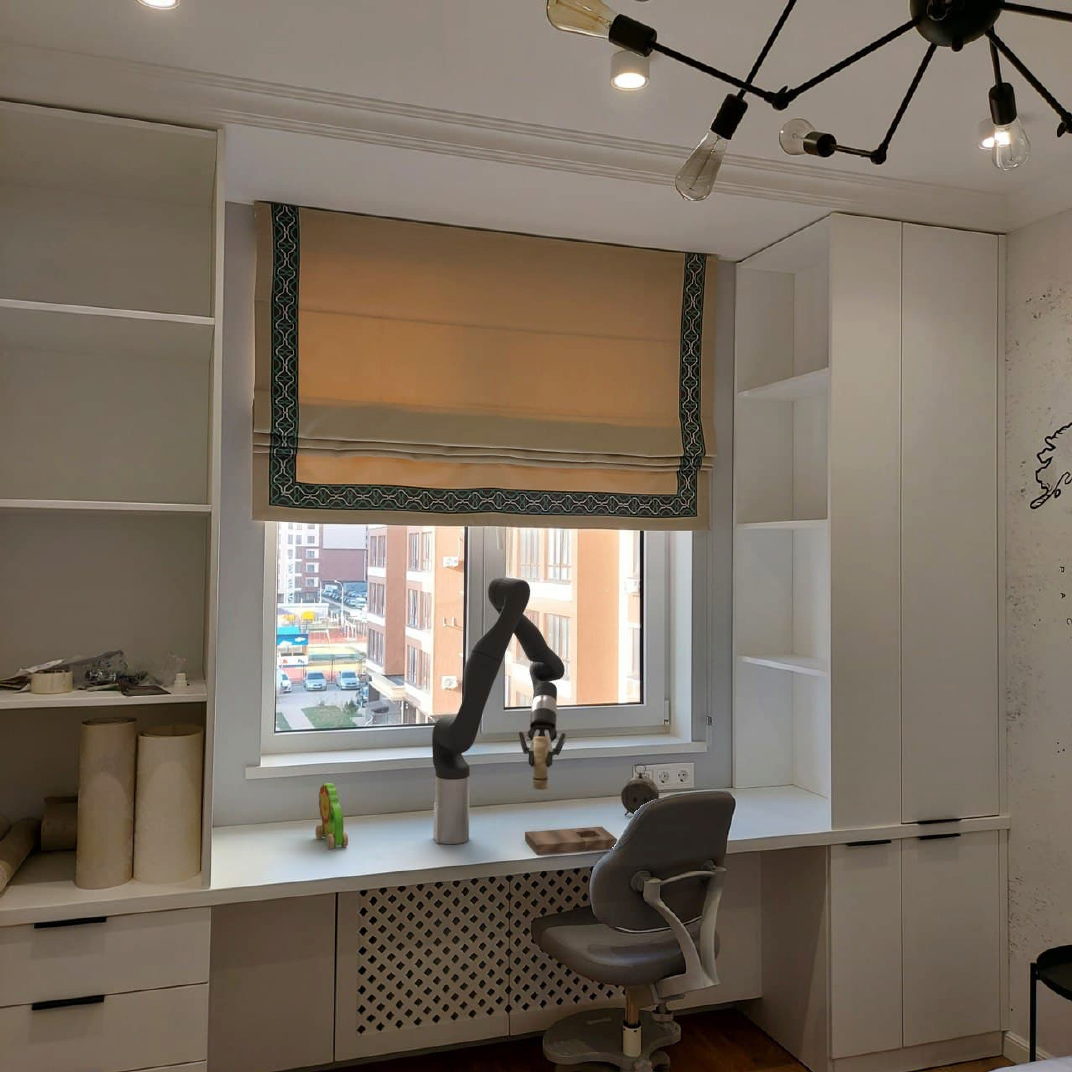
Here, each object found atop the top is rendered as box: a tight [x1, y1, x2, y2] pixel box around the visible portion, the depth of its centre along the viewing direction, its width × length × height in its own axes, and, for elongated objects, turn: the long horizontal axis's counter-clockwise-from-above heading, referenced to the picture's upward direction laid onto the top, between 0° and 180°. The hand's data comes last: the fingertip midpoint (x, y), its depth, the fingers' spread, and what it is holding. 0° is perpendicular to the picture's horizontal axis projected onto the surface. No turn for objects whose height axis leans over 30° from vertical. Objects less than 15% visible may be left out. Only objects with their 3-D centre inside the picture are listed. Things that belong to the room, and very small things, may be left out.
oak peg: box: [532, 736, 549, 791], centre depth 263 cm, size 4×4×14 cm
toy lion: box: [315, 782, 349, 850], centre depth 253 cm, size 16×6×15 cm, turn 29°
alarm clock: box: [620, 762, 660, 817], centre depth 279 cm, size 11×5×16 cm, turn 76°
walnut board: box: [524, 826, 618, 856], centre depth 252 cm, size 22×12×2 cm, turn 106°
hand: (540, 765), depth 261 cm, fingers closed on oak peg, 4 cm apart
